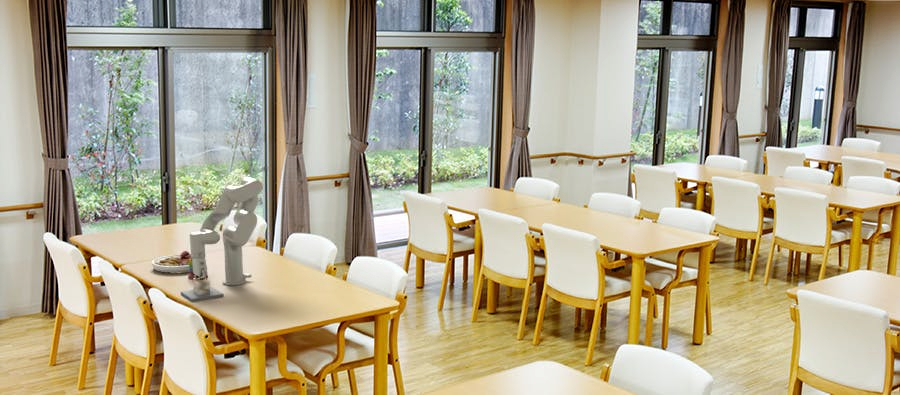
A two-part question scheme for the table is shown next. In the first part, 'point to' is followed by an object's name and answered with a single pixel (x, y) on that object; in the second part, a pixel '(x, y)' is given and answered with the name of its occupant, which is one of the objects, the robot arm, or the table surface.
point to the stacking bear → (192, 270)
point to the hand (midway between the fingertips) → (200, 286)
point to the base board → (195, 297)
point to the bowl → (173, 263)
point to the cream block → (201, 287)
